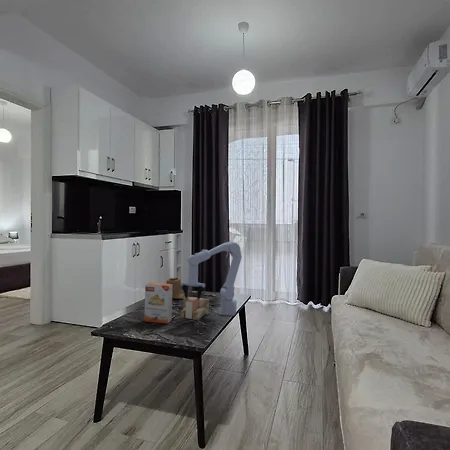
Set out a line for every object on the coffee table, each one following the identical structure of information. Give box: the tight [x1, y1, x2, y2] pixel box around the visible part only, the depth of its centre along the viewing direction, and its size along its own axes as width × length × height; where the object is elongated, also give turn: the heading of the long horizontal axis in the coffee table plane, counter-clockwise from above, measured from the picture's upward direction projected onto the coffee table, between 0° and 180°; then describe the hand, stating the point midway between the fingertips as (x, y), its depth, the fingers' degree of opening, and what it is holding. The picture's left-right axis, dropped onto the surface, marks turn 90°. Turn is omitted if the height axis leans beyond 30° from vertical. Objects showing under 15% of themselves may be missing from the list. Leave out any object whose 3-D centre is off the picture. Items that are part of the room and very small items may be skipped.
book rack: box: [179, 296, 210, 321], centre depth 189 cm, size 16×14×9 cm
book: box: [185, 296, 198, 320], centre depth 188 cm, size 4×10×10 cm, turn 165°
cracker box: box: [143, 282, 173, 325], centre depth 177 cm, size 14×6×21 cm, turn 79°
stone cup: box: [165, 276, 185, 300], centre depth 230 cm, size 15×12×15 cm
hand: (192, 298), depth 189 cm, fingers open, 7 cm apart
